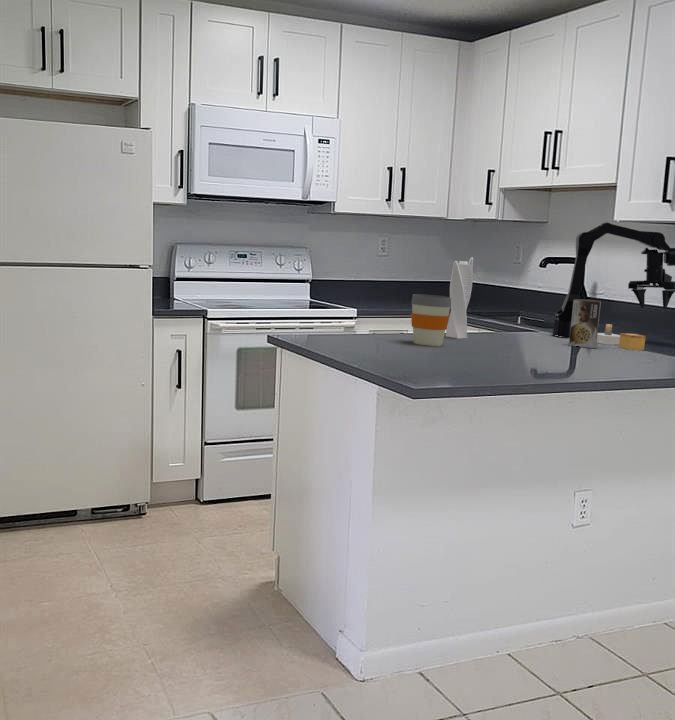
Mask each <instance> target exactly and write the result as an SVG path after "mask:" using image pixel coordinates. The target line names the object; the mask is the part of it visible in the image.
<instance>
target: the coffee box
mask: <svg viewBox="0 0 675 720" xmlns="http://www.w3.org/2000/svg"><path fill="white" fill-rule="evenodd" d="M601 305H602V300H596V299H595V300H593V299H584V298H583V299H582V298H581V299H574V300H573V311H572V321H571V330H570V338H569V339H568V340H569V341H568V346H569V345H571V346H570V347H576V346H579V347H578V348H590V349H596V348H597V334H598V333H599V332H598V331H599V322H600V316H601V315H600V314H601Z"/></svg>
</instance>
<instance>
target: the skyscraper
mask: <svg viewBox="0 0 675 720" xmlns="http://www.w3.org/2000/svg"><path fill="white" fill-rule="evenodd" d="M473 264H474V257H473V256H472V257H470V259H469V261H462V260H459V262H458V260H455V261H454V262H453V266H452V271H451V276H450V283H449V297H451V307H450V312H449V316H450V317H449V321H448V326H447V329H446V330H445V332H446V333H445V335H444V338H451V339H455V340H456V339H457V340H461V339H462V340H463V339H469V337H468V323H467V319H468V318H467V317H468V316H467V309H468V305H469V304H470V299H471V296H472V294H471V293H472V290H473V277H474V274H473V273H474V272H473V271H474V270H473V269H474V267H473Z"/></svg>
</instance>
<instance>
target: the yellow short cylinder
mask: <svg viewBox="0 0 675 720" xmlns="http://www.w3.org/2000/svg"><path fill="white" fill-rule="evenodd" d="M619 335H620V341H619V345H618V348H620V347H623V348H622V349H624V348H627V349H626V350H629V349H634V350H633V351H644V350H645V346H646V345H645V344H646V337H647V336H646V335H643V334H642V335H641V334H639V333H629V332H628V333H627V332H626V333H622V332H620V334H619Z"/></svg>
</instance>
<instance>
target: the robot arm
mask: <svg viewBox="0 0 675 720" xmlns="http://www.w3.org/2000/svg"><path fill="white" fill-rule="evenodd" d="M606 234H608V235H612V236H615V237H620V238H622V239H623V238H624V239H626V240H627V239H628V240H632V241H635V242H639V243H640V244H642V245H644V246H646V247H645V248H644V249H643V250H642V251H641V252H640V254H641V255H646V268H645V269H644V273H645V274H646V277H645V280H630V281H629V282H628V284H627V285H628V287H627V288H628V289H629V290H630V289H631V292H633V294H634V295H635V297H636V299H637V300H638V303H639V306H640V307H641V308H642V309H644V308H645V295H646V291H647V288H661V289H662V291H661V293H662V306H663V309H664V310H666V309H667V307H668V306H669V305H668V304H669V302H670V300H671V298H672V296H673V294H675V281H674V280H673V276H671V275H670V274H669V273H666V269H665V268H664V264H666V266H668V267H674V266H675V247H670V245H669V244H668V243H667V242H666V237H665V235H664V233H662V232H659V231H646V230H643V231H642V230H638V229H633V228H629V227H626V226H625V227H624V226H620V225H617V224H613V223H610V222H608V221H607V222H602V223H600V225H598V226H596V227H594V228H592V229H591V230H589V231H583V232H580V233H579V234H577V236H576V238H575V259H574V264H573V265H574V266H573V269H572V274H571V280H570V283H569V287H568V292H567V294H566V296H565V298H564V301H563V303H562V306H561V309H559V310H558V311H557V312H555V314H554V315H555V319H554V321H553V329H552V330H553V331H552V334H553V335H558V336H564V337H563V338H569V337H570V330H571V321H572V311H573V300H574V299H580V294H581V287H582V284H583V280H584V279H583V278H584V274H585V268H586V265H587V259H588V257H589V254H590V252H591V250H592V248H593V246H594V243H595V242H596V241H597V240H599V239H600V238H602V237H603V236H605V235H606ZM649 248H651V249H649ZM660 251H661V252H660ZM672 280H673V281H672ZM663 289H664V290H663ZM553 335H552V336H553Z"/></svg>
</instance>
